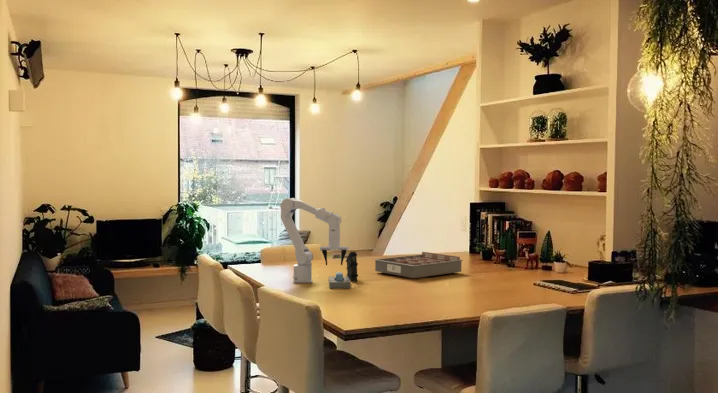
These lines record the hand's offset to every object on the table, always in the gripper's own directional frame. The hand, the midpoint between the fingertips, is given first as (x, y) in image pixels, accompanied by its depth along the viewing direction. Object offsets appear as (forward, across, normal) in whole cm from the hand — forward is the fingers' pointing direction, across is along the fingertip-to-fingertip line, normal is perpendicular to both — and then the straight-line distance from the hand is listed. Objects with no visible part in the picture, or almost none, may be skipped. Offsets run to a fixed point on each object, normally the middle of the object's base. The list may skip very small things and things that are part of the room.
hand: (334, 264), depth 310 cm
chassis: (+9, +2, -6) cm, 11 cm away
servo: (+9, +2, -6) cm, 11 cm away
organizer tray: (+10, +49, +32) cm, 59 cm away
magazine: (+10, +10, +12) cm, 18 cm away
